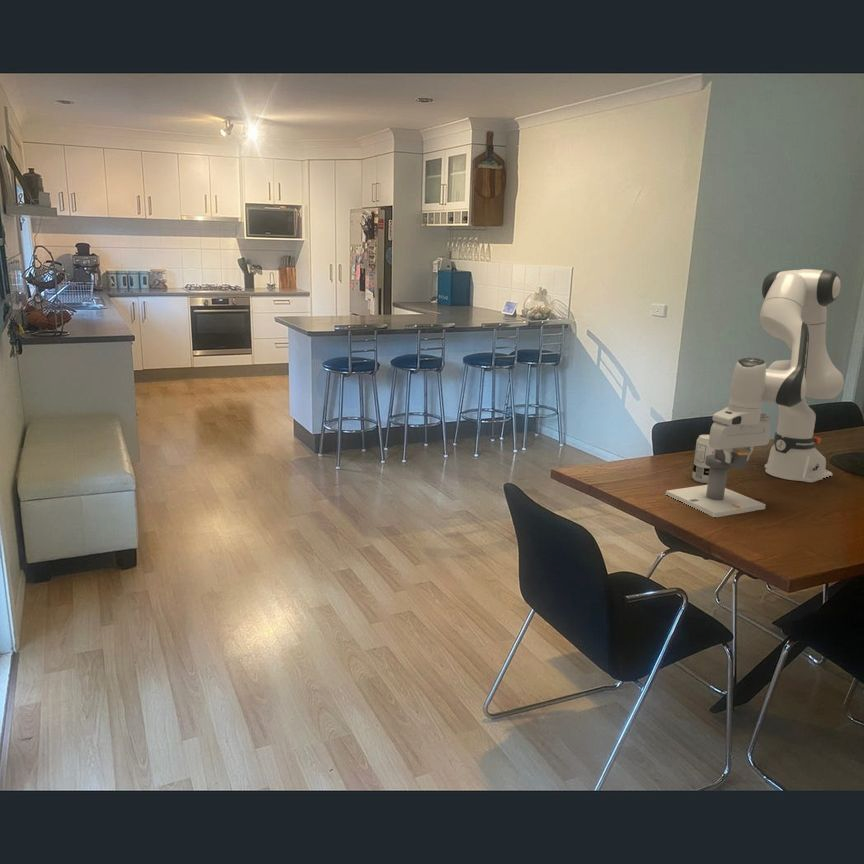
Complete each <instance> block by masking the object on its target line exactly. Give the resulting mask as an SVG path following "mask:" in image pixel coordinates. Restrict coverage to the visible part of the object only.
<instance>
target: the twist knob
mask: <svg viewBox="0 0 864 864" xmlns="http://www.w3.org/2000/svg"><path fill="white" fill-rule="evenodd" d="M731 455H732V457H734V460H733V463H727V462H725V457H726V456H725V454H724V451H723V450H717V449H716V450H715V455H708V456H706V460H705V464H706V465H707V466H709V467H713V468H718V469H728V470H732V469H733V468H734V469H736V470H746V468H747V463H748V461H747V456H748V453H747V452H744V451H740V450H738V449H736V448H733V451H732V452H731Z"/></svg>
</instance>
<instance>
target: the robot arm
mask: <svg viewBox="0 0 864 864" xmlns="http://www.w3.org/2000/svg"><path fill="white" fill-rule="evenodd" d="M841 285H842V284H841V279H840V275H839V274H838V273H837V272H836V271H834V270H830V269H809V268H802V269H793V270H784V271H783V270H775V271H772V272H770V273H768V274H767V275H766V276H765V277H764V279H763V282H762V285H761V286H762V287H761V295H762V298H763V303H762V305H761V308H760V314H759V323H760V325H761V327H762V329H764V331H765V332H766V333H768V334H769V335H771V336H772V337H773V338H777V339H779V340H781V341H783V342H784V343H786V344H787V347H788V348H789V350H790V351H791V355H790V359H783V360H775V361H773V362H772V363H771V364H770V365H769V366H768V367H767V363H766V361H765V360H763V359H761V358H759V357H743V358H741V359H739V360H737V362H736V363H735V366H734V368H733V369H734V370H733V373H732V378H731V382H730V397H729V401H728V403H727V406H726V407H725V408H723V409H721V410H719V411H717V412H714V414H713V415H712V421H713V422H712V425H711V426H710V431H709V435H710V436H709V445H710V447H711V448H714V449H717V450H723V451H724V454H725V456H726V457H725V462H727V463H733V460H734V457H732V455H731V452H732V451H733V449H742V448H744V451H743V452H747V453H748V456H747V462H748V461H749V459H750V456H751V454H752V453H753V451H754V448H755V447H760V446H767V445H768V444H769V442H770V440H771V439H770V438H771V437H770V436H771V423H770V422H771V421H770V419H771V417H770V416H769V415H768V414H767V413H762V410H763V409H762V408H763V402H764V403H770V404H776V405H777V406H778V420H777V428H776V432H775V433H774V435H773V443H774V444H773V445H772V446H771V447H770V448H771V449H770V452H769V455H768V459H767V462H766V463H765V464H764V469H765V470H764V471H765V473H766V474H768V475H769V476H772V477H775V478H779V479H782V480H788V481H799V482H803V483H804V482H805V483H816V482H817V481H821V480H824V479H823V478H825V479H827V478H826V477H828V478H830V477H829V476H831V477H833V473H832V471H829V470H828V469H826V468H827V467H826V466H827V459H826V457H825V455H824V456H823V454H822V453H821V452H820V451H819V450H818V449H817V448H816V444H820V443H821V441H822V439H821V437H818V436H814V430H815V424H816V420H817V419H816V418H817V417H816V416H817V415H816V412H815V411H814V410H813V409H812V408H811V407H810V406H809V404H808V402H807V399H806V398H811V399H815V400H832V399H834V398H836V397H838V396H839V394H841V392H842V391H843V389H844V385H845V383H844V382H845V380H844V376H843V373H842V372H841V371H840V370H838V368H837V367H836V366H835V365H834V364H833V361H832V360H831V358H830V355H829V353H828V350H827V343H826V340H827V339H826V338H827V337H826V333H827V318H828V317H827V311H828V310H827V306H828V305H830V304H832V303H834V302H835V300H837V298H838V297H839V294H840V292H841Z"/></svg>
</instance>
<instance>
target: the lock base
mask: <svg viewBox="0 0 864 864" xmlns="http://www.w3.org/2000/svg"><path fill="white" fill-rule="evenodd" d="M728 470H729V469H718V468H713V467H710V470H709V477H708V484H702V485H697V486H690V487H683V488H682V487H681V488H676V489H669V490H666V491H665V496H666V495H668V496H670V497H669V498H671V497H672V498H671V499H673V498H674V499H673V500H675V499H676V501H677V500H679V501H681V502H683V503H682V504H684V503H685V504H684V505H686V504H687V505H686V506H688V505H689V507H690V506H691V507H690V508H692V507H693V508H692V509H694V508H695V509H694V510H697V509H698V510H697V511H699V510H700V511H699V512H701V511H702V512H701V513H703V512H704V513H703V514H705V513H706V515H707V514H708V515H707V516H710V517H712V518H714V517H716V518H720V517H727V516H733V515H738V514H744V513H750V512H756V510H757V511H763V510H766V506H767V505H766V504H765V503H763V502H761V501H759V500H755V499H753V498H751V497H748V496H746V495H743V494H742V493H739V492H737V491H734V490H732V489H730V488H729V489H728V488H726V485H727V484H726V483H727V477H728ZM668 496H667V497H668ZM679 501H678V502H679ZM681 502H680V503H681Z"/></svg>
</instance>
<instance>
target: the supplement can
mask: <svg viewBox="0 0 864 864" xmlns="http://www.w3.org/2000/svg"><path fill="white" fill-rule="evenodd" d="M709 436H710V434H700V435H698V437H697V439H696V444H695V451H694V460H693V466H692V467H693V468H692V474H691V478H692V479H693V480H694V481H695V482H697V483H699V484H704V483H706V484H705V485H708V477H709V470H710V467H709V466H707V465H706V464H705V460H706V456H708V455H715V450H716V449H714V448H711V447H710V445H709Z"/></svg>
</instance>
